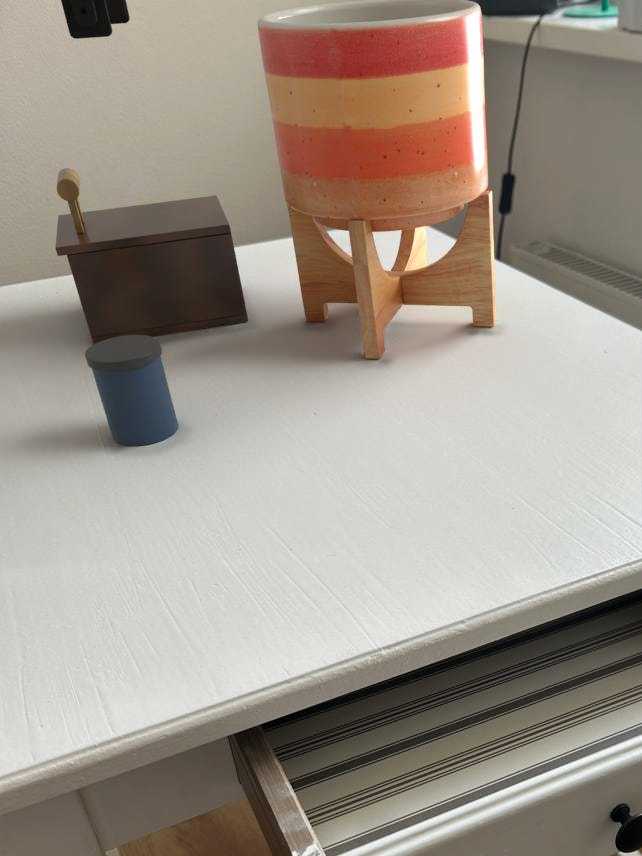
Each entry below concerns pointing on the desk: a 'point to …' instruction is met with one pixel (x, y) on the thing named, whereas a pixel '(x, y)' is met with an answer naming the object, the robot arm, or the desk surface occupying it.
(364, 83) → the planter
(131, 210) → the lid
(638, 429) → the desk surface
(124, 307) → the chest
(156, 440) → the canister
